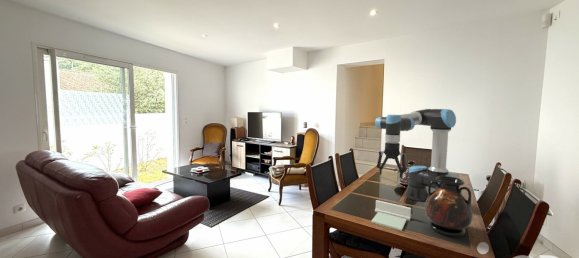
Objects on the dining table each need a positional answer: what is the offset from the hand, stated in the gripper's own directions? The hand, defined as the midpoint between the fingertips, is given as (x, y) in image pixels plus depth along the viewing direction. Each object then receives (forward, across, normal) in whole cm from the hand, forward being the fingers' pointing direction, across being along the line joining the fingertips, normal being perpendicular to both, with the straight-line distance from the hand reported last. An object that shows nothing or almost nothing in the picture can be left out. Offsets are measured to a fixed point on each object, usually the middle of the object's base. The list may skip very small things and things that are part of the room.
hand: (390, 181), depth 133 cm
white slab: (+24, 0, +11) cm, 26 cm away
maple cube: (+1, 0, 0) cm, 1 cm away
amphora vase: (+24, +27, +9) cm, 37 cm away
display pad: (+24, 0, 0) cm, 24 cm away
